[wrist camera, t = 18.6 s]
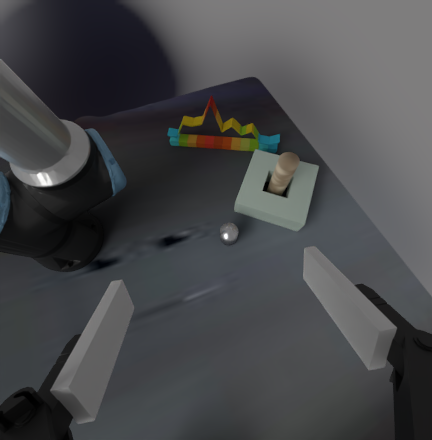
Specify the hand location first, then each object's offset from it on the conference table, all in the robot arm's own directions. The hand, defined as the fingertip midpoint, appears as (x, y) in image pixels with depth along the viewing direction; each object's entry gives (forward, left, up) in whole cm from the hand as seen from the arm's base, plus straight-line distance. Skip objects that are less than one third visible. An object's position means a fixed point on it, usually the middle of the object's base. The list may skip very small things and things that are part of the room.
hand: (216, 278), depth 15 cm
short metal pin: (-3, +12, -33) cm, 35 cm away
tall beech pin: (+4, +27, -33) cm, 43 cm away
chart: (-14, +38, -33) cm, 52 cm away
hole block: (+4, +27, -33) cm, 43 cm away
